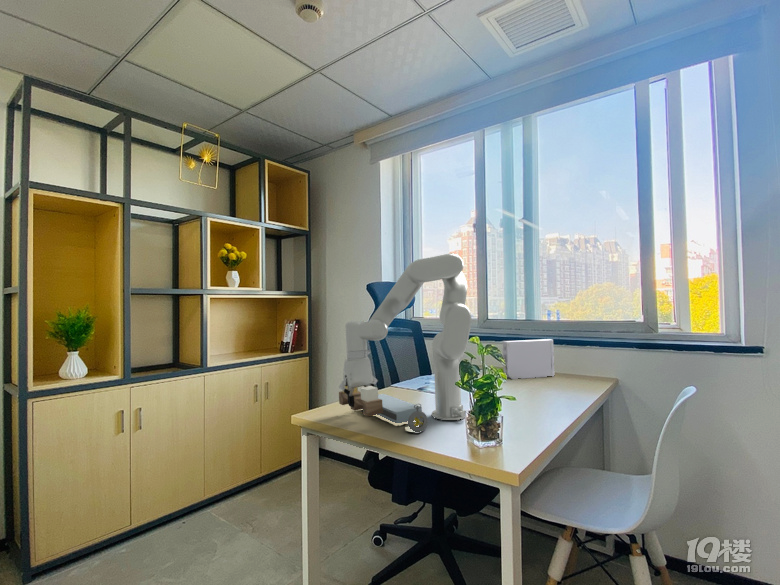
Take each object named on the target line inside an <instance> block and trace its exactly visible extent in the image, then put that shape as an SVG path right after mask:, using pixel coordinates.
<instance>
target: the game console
mask: <svg viewBox="0 0 780 585" xmlns="http://www.w3.org/2000/svg"><path fill="white" fill-rule="evenodd" d="M554 350H555V349H554V339H552V338H547V339H546V338H544V339H543V338H542V339H525V340H524V339H523V340H502V358H503V357H504V359H505V362H506V366H504V365H503V364H502V365H503V373H504V372H505V373H506V375H507V376H506V375H505V376H506V377H507V378H509V379H511V380H518V378H521V379H533V378H534V379H536V378H548V377H547V376H552V377H555V376H554V375H555V353H554ZM535 377H536V378H535Z"/></svg>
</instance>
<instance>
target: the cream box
mask: <svg viewBox="0 0 780 585" xmlns="http://www.w3.org/2000/svg"><path fill="white" fill-rule="evenodd" d="M359 388H360V392H361V400H364V401H366V402H369V401H374V400H378V395H379V388H378V387H377V386H376V387H375V386H374V387H373V386H368V387H364V386H362V387H359Z"/></svg>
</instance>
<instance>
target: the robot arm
mask: <svg viewBox="0 0 780 585" xmlns="http://www.w3.org/2000/svg"><path fill="white" fill-rule="evenodd" d="M464 266H465V264H464V260H463V259H462V257H461V256H460V255H459V254H457V253H454V252H453V253H446V254H445V253H444V254H439V255H435V256H430V257H425V258H420V259H417V260H414V261H411V262H410V263H409V265H408V266H406V268H405V269H404V271H403V272H402V274H401V275H400V276H399V278H398V280H397V281H396V282H395V284H394V285H393V287H392V288H391V289H390V291H389V292H388V293H387V295H386V296H385V297H384V299H383V301H382V302H381V303H380V305H379V306H378V307H377V309H376V310H375V311H374V313H373V314H372V316H370V318H369V320H368V321H363V320H355V321H354V320H351V321H347V322H346V323H345V343H346V344H345V345H346V359H345V360H344V363H343V379H342V381H341V383H340V384H339V386H338V388H339V389H340V390H341V391H343V392H344V393H346V395H348V404H347V405H348V406H349V407H350V408H351V407H354V396H353V395H352V394H353V391H354V388H356V387H358V388H362V387H368V386H373V387H375V385H376V384H377V383H378V382H379V380H378V379H377V378H376V377H375V376H374V375H373V371H372V370H373V369H372V363H371V359H370V357H368V356H369V354H371V350H368V341H374V342H375V341H376V342H378V341H381V340H383V339H385V338H386V337H387V335H388V333H389V327H390V325H391V323H392V322H393V321H394V319H395V318H396V317H397V316H398V315H399V314H400V313H401V312H402V311H403V310H405V309H406V308H407V307H408V306H409V305H410V303H411V302H412V301H413V299H414V297H416V295H417V293H418V291H419V290H420V289H422V288H421V287H423V284H425V283H428V282H434V281H439V280H441V281H442V282H443V286H444V289H443V297H442V301H441V306H440V311H439V321H440V323H441V325H442V326H443V328H442V331H439V332H438V333H437V334H436V335H434V337H433V340H432V343H431V345H432V346H431V350H432V356H433V369H434V374H433V375H434V399H435V400H434V401H435V402H434V403H435V409H434V410H433V411H432V412H431V417H432V416H433V417H435V418H437V419H442V420H457V421H461V420H464V419H465V418H466V417H465V412H466V411H467V410H465V409H464V405H462V394H461V393H462V391H461V390H462V389H461V388H459V387H457V386H456V385H455V382H457V381H459V380H460V381H461V374H460V375H459V364H460V359H461V358H462V357H464V355H465V353H466V351H467V347H468V343H469V337H470V333H471V328H472V314H471V313H472V312H471V310H470V309H469V307H468V306H467V305H466V303H467V294H468V284H467V280H466V276H465V275H464V273H463V269H464ZM464 352H465V353H464ZM345 386H348V388H347V389H346V388H345ZM433 417H432V418H433ZM464 417H465V418H464ZM435 418H434V419H435ZM437 419H436V420H437ZM460 419H461V420H460ZM442 420H441V421H442Z"/></svg>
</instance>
